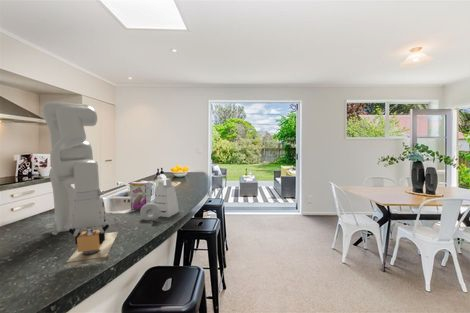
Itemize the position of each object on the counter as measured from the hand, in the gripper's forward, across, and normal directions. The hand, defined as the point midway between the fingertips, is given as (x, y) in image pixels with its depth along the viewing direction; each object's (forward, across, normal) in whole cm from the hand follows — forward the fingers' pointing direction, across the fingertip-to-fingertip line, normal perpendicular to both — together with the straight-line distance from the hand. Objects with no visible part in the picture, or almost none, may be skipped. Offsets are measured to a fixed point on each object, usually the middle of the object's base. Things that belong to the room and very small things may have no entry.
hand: (90, 243), depth 88 cm
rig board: (+5, 0, -7) cm, 8 cm away
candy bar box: (+5, -12, -64) cm, 65 cm away
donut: (+5, -19, -34) cm, 39 cm away
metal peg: (+3, 0, 0) cm, 3 cm away
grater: (+5, -27, -46) cm, 54 cm away
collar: (+1, 0, 0) cm, 1 cm away
